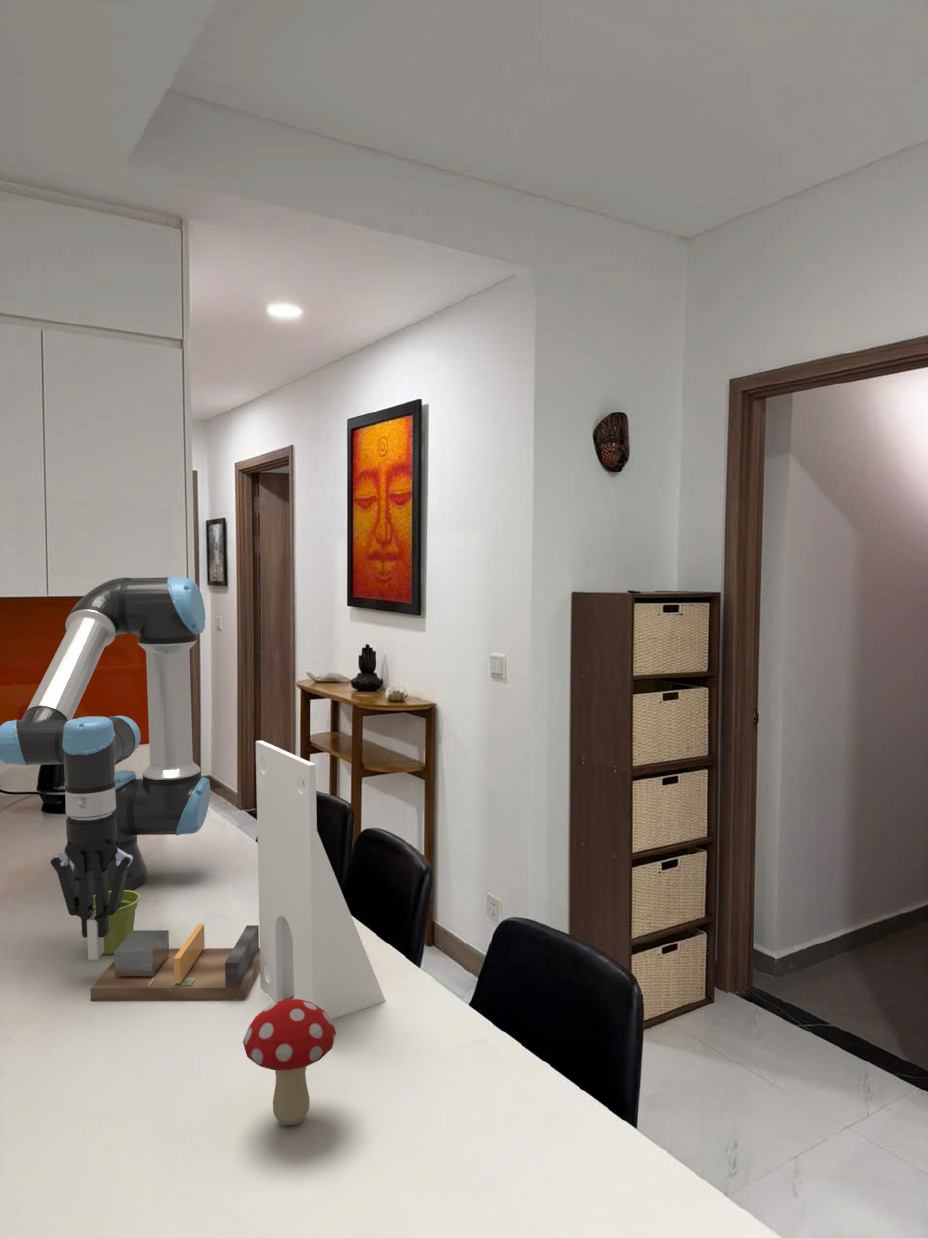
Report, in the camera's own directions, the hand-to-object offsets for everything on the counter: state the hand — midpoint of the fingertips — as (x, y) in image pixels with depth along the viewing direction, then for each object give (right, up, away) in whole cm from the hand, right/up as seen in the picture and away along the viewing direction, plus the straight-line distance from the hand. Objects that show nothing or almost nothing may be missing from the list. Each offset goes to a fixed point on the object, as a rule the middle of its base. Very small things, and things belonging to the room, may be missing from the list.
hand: (96, 955), depth 145 cm
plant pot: (-2, -3, +12) cm, 13 cm away
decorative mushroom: (+39, -7, -37) cm, 54 cm away
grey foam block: (+8, -1, 0) cm, 8 cm away
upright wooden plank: (+15, -1, 0) cm, 15 cm away
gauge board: (+14, -4, 0) cm, 15 cm away
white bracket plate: (+39, -5, -7) cm, 40 cm away
